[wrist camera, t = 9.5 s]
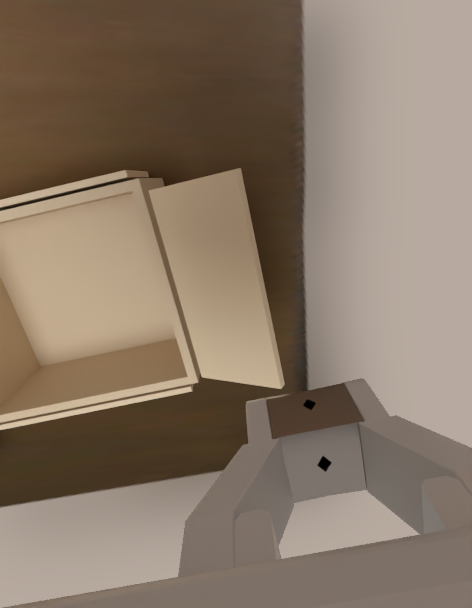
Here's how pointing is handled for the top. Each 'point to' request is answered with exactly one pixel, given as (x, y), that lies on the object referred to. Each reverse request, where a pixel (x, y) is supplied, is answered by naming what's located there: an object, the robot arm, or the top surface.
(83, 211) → the carton
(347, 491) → the robot arm
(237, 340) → the flap
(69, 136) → the top surface
